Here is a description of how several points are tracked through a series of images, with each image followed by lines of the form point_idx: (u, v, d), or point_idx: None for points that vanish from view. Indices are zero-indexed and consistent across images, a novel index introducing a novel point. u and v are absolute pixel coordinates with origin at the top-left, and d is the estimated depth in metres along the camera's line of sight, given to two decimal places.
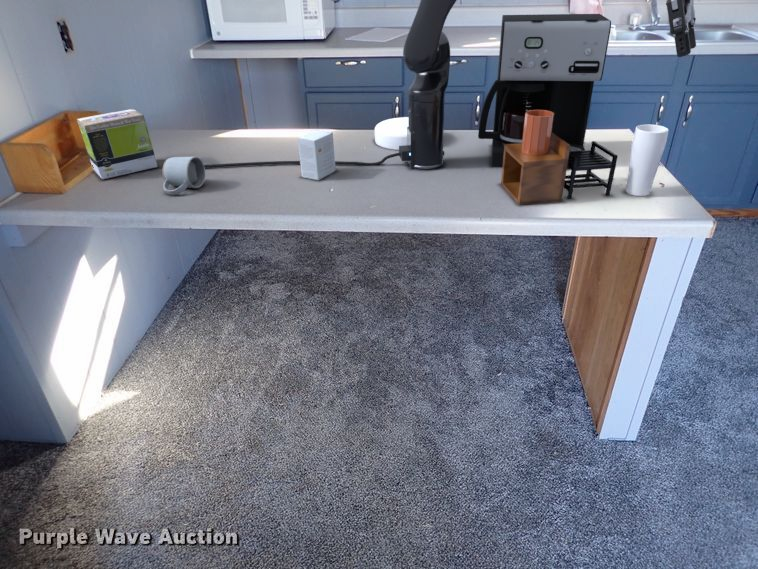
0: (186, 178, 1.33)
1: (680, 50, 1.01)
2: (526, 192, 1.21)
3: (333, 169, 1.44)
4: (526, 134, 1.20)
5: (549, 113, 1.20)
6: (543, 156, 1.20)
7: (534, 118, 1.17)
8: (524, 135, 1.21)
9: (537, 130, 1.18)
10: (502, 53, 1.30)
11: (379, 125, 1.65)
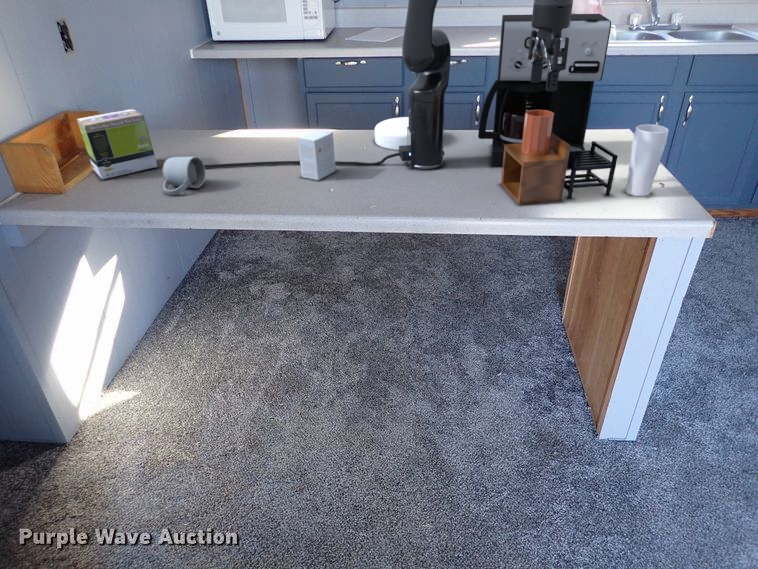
0: (186, 178, 1.33)
1: (552, 86, 1.11)
2: (526, 192, 1.21)
3: (333, 169, 1.44)
4: (526, 134, 1.20)
5: (549, 113, 1.20)
6: (543, 156, 1.20)
7: (534, 118, 1.17)
8: (524, 135, 1.21)
9: (537, 130, 1.18)
10: (502, 53, 1.30)
11: (379, 125, 1.65)
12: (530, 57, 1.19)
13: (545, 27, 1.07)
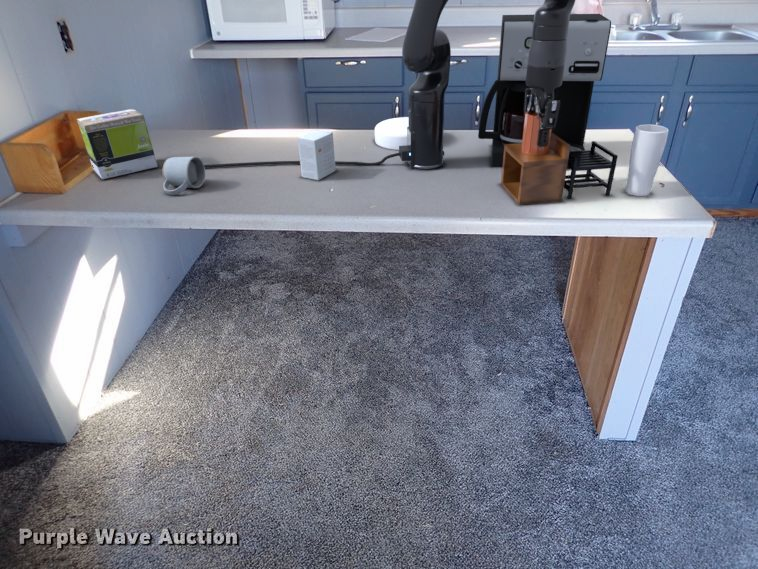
0: (186, 178, 1.33)
1: (543, 142, 1.18)
2: (526, 192, 1.21)
3: (333, 169, 1.44)
4: (526, 134, 1.20)
5: None
6: (543, 156, 1.20)
7: (534, 118, 1.17)
8: (524, 135, 1.21)
9: (537, 130, 1.18)
10: (502, 53, 1.30)
11: (379, 125, 1.65)
12: None
13: (538, 87, 1.13)
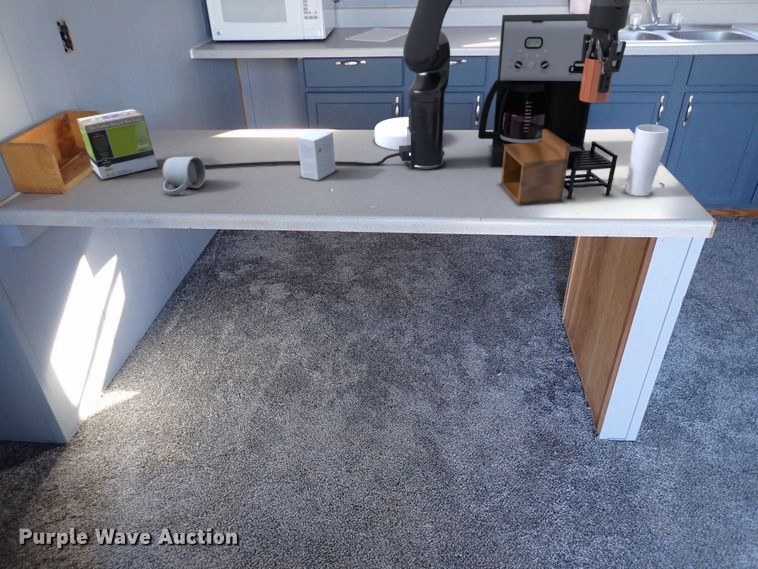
0: (186, 178, 1.33)
1: (604, 87, 1.14)
2: (526, 192, 1.21)
3: (333, 169, 1.44)
4: (586, 80, 1.16)
5: None
6: (543, 156, 1.20)
7: (596, 62, 1.13)
8: (583, 82, 1.17)
9: (598, 75, 1.14)
10: (502, 53, 1.30)
11: (379, 125, 1.65)
12: (584, 61, 1.20)
13: (602, 28, 1.09)
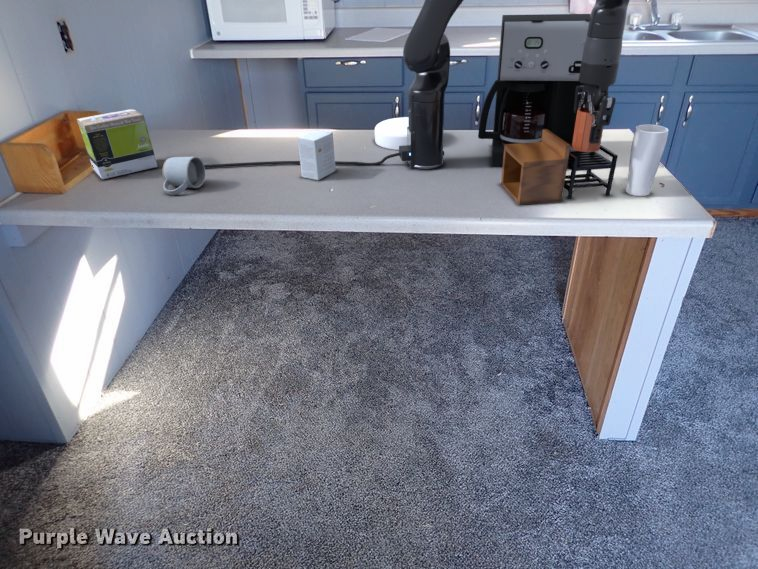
0: (186, 178, 1.33)
1: (595, 139, 1.19)
2: (526, 192, 1.21)
3: (333, 169, 1.44)
4: (578, 131, 1.22)
5: None
6: (543, 156, 1.20)
7: (587, 115, 1.19)
8: (575, 132, 1.22)
9: (590, 127, 1.20)
10: (502, 53, 1.30)
11: (379, 125, 1.65)
12: (576, 111, 1.25)
13: (593, 84, 1.14)
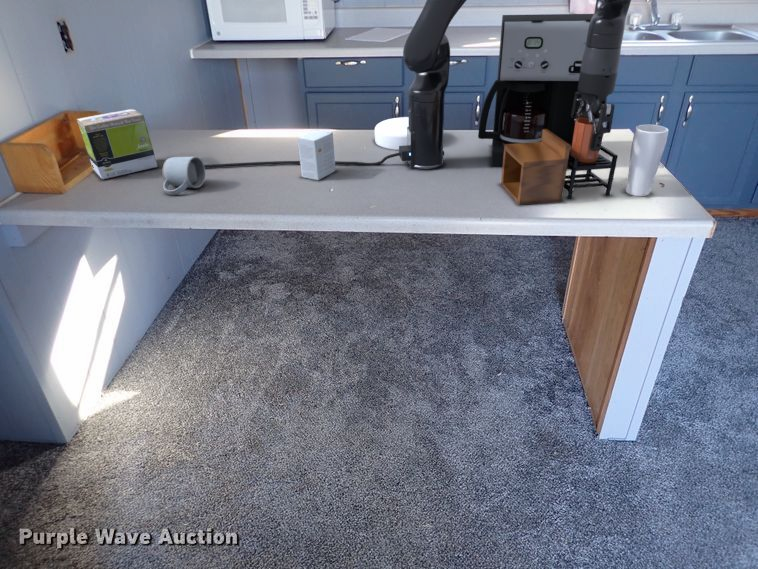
0: (186, 178, 1.33)
1: (596, 146, 1.19)
2: (526, 192, 1.21)
3: (333, 169, 1.44)
4: (576, 142, 1.23)
5: None
6: (543, 156, 1.20)
7: (585, 126, 1.20)
8: (574, 142, 1.24)
9: (588, 138, 1.21)
10: (502, 53, 1.30)
11: (379, 125, 1.65)
12: (573, 116, 1.27)
13: (591, 93, 1.15)
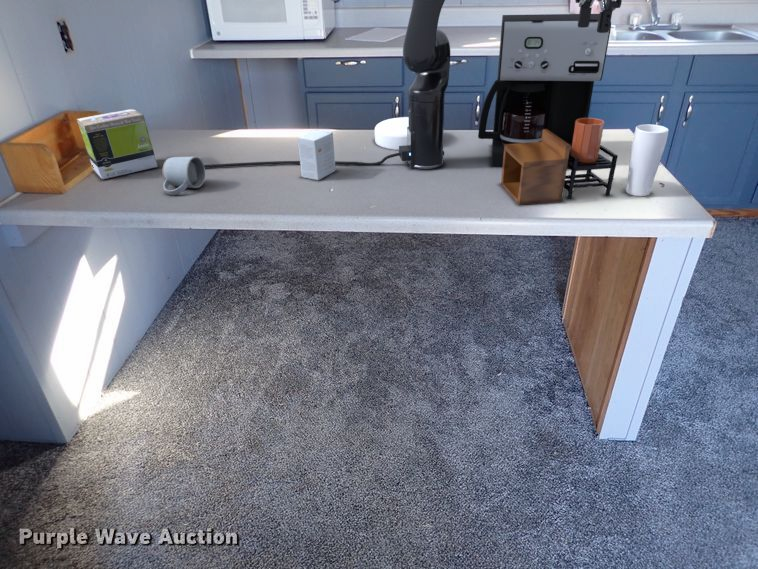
0: (186, 178, 1.33)
1: (604, 26, 1.06)
2: (526, 192, 1.21)
3: (333, 169, 1.44)
4: (576, 142, 1.23)
5: (599, 121, 1.23)
6: (543, 156, 1.20)
7: (585, 126, 1.20)
8: (574, 142, 1.24)
9: (588, 138, 1.21)
10: (502, 53, 1.30)
11: (379, 125, 1.65)
12: (578, 0, 1.13)
13: None
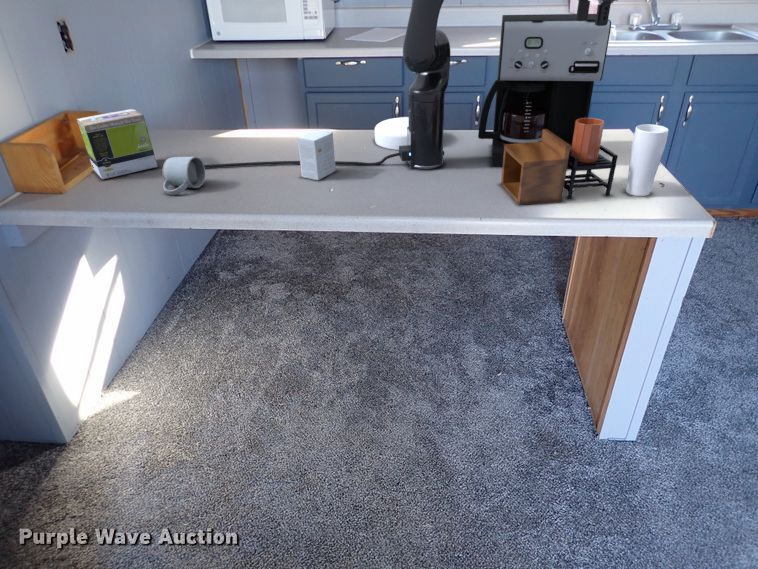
0: (186, 178, 1.33)
1: (602, 19, 1.05)
2: (526, 192, 1.21)
3: (333, 169, 1.44)
4: (576, 142, 1.23)
5: (599, 121, 1.23)
6: (543, 156, 1.20)
7: (585, 126, 1.20)
8: (574, 142, 1.24)
9: (588, 138, 1.21)
10: (502, 53, 1.30)
11: (379, 125, 1.65)
12: None
13: None
